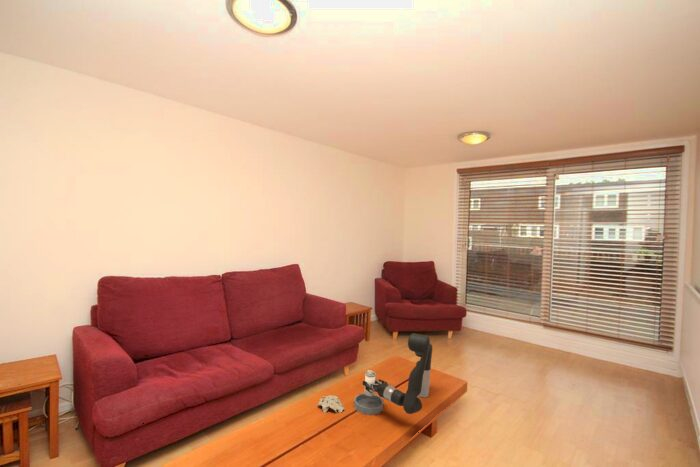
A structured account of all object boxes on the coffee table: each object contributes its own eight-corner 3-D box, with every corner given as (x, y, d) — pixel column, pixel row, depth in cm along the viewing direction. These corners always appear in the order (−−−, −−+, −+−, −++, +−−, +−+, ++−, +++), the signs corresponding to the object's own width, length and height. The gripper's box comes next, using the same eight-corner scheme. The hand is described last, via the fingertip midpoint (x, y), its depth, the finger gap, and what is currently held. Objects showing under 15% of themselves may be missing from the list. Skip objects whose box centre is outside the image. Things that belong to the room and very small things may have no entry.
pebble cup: (367, 389, 198) (369, 367, 198) (376, 393, 194) (378, 370, 194) (361, 393, 193) (363, 370, 193) (370, 397, 189) (372, 373, 189)
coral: (345, 410, 188) (346, 401, 188) (327, 417, 181) (327, 407, 181) (332, 398, 200) (332, 390, 200) (314, 403, 194) (314, 395, 194)
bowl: (364, 395, 206) (365, 390, 206) (388, 406, 195) (388, 400, 195) (348, 406, 192) (348, 400, 192) (372, 418, 182) (372, 412, 182)
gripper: (397, 382, 188) (375, 371, 200) (380, 389, 178) (358, 377, 190) (396, 395, 188) (374, 383, 200) (379, 403, 178) (357, 390, 190)
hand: (367, 381), depth 195 cm, fingers closed on pebble cup, 6 cm apart
